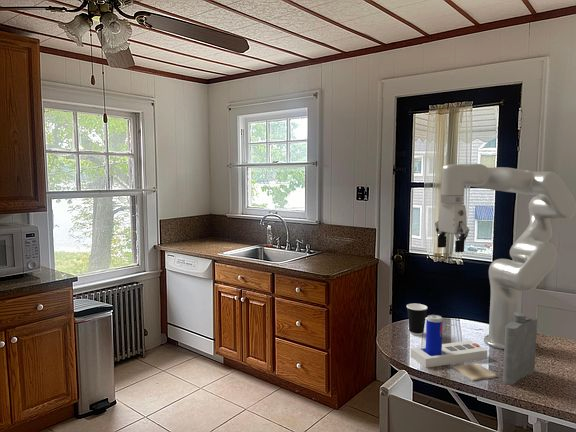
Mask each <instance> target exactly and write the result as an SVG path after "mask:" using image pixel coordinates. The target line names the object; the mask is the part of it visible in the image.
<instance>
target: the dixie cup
mask: <svg viewBox="0 0 576 432" xmlns="http://www.w3.org/2000/svg"><path fill="white" fill-rule="evenodd" d="M406 308H407V317H408V318H407V320H408V330H409V334H410V335H411V334H412V335H411V336H415V337H420V336H423V334H424V332H425V331H424V330H425V326H426V325H425V324H426V319H427V310H428V309H429V308H428V306H427V305H425V304H421V303H408V304H406Z"/></svg>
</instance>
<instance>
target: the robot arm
mask: <svg viewBox="0 0 576 432" xmlns="http://www.w3.org/2000/svg"><path fill="white" fill-rule="evenodd" d="M440 184H441V187H440V189H441V190H440V206H439V212H438V219H437V220H438V221H436V222H435V223H434V227H435V231H436V236H437V248H446V247H447V235H446V234H451V235H454V236H455V239H456V240H455V241H454V242H455V243H454V252H455V253H465V241H466V240H467V238H468V235H469V233H470V227H468V226H467V222H468V221H467V209H466V205H465V204H464V203H465V189H466V188H465V187H471V188H478V189H486V190H490V191H498V192H499V191H500V192H505V193H515V194H522V195H529V196H530V195H531V196H533V197H532V198H531V199H530V201H529V203H528V213H529V223H528V226H527V227H526V228H525V230H524V231H523V233H522V234H521V235H520V236H519V237H518V238H517V240H516V241H515V242H514V243H513V244H512V245H511V247H510V249H509V257H510V258H511V259H508V258H497V259H495V260H493V261H492V262H491V263H490V265H489V268H488V279H489V285H490V301H489V303H490V304H489V305H490V306H489V323H488V324H489V325H488V334H487V335H485V336H484V337H483V342H484V343H485V344H486V345H488V346H491V347H493V348H496V349H500V350H504V347H505V326H506V325H507V324H508V323H510V322H512V321H514V316H513V313H520V312H519V310H520V309H519V308H520V295H519V294H520V293H519V291H521V292H525V293H526V292H531V291H532V290H534V289H535V288H536V287H537V286H538V285H539V284H541V282H542V281H543V280H544V278H545V277H547V275H548V273H549V272H550V271H551V270H552V269H553V267H554V266H555V265H556V262H557V259H558V250H557V248H556V246H555V245H553V243H551V242H549V241H550V240H551V239H552V237H553V233H554V232H553V228H552V227H553V226H552V222H551V220H559V221H567V220H570V219H572V218H573V217H574V216H575V215H576V200H575V198H574V196H573V194H572V193H571V192H570V190H569V188H568V186H567V185H566V184H565V182H564V180H562V178H561V177H560V176H559V175H558V174H557V173H555V172H553V171H533V170H527V169H519V168H513V167H503V166H500V167H499V166H497V167H487V165H484V164H482V163H459V164H458V163H455V164H453V163H451V164H450V163H449V164H445V165H443V166H442V168H441V183H440ZM512 259H513V260H512Z"/></svg>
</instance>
